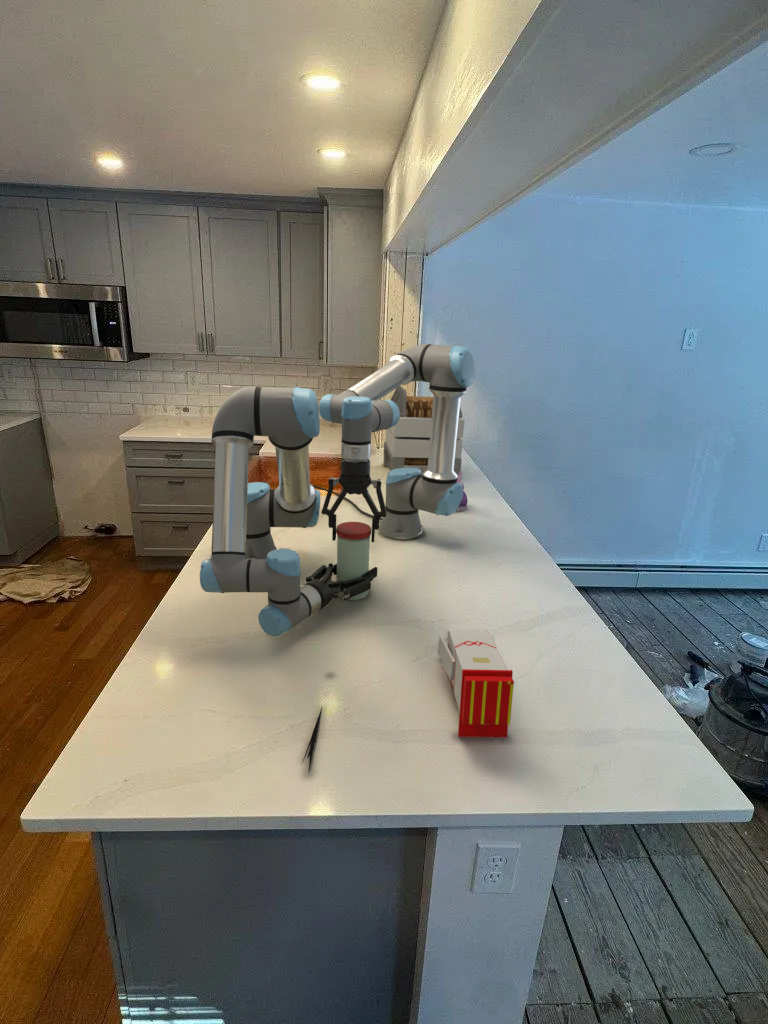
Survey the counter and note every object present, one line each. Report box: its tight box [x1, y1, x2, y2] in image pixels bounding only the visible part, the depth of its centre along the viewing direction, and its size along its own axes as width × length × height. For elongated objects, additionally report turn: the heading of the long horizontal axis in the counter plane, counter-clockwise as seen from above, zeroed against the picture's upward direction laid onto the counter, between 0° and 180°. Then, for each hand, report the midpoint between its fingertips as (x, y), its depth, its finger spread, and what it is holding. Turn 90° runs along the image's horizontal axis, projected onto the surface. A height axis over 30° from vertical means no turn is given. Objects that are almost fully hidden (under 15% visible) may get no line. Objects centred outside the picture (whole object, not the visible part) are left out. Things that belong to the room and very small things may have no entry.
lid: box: [336, 521, 372, 540], centre depth 151 cm, size 9×9×2 cm
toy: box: [437, 628, 515, 738], centre depth 117 cm, size 12×13×30 cm
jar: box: [336, 534, 371, 601], centre depth 155 cm, size 9×9×18 cm
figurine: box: [454, 471, 468, 513], centre depth 225 cm, size 9×10×15 cm
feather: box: [301, 673, 332, 771], centre depth 108 cm, size 2×28×2 cm
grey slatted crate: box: [383, 385, 465, 475], centre depth 268 cm, size 34×33×41 cm
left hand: (362, 567), depth 159 cm, fingers closed on jar, 9 cm apart
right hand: (353, 539), depth 152 cm, fingers open, 10 cm apart
